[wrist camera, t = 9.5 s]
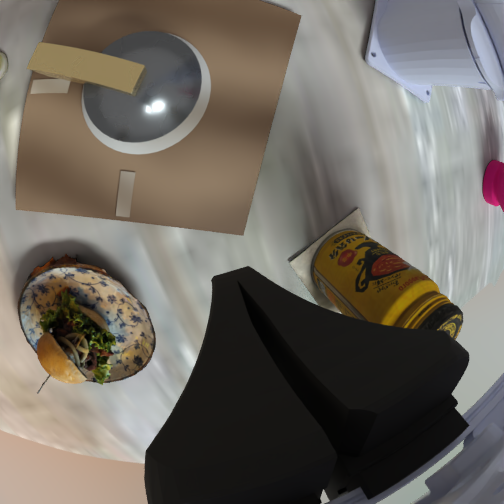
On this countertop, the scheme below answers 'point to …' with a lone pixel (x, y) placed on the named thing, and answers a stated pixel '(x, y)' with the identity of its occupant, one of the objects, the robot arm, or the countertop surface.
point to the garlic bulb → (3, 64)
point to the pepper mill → (494, 184)
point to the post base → (174, 143)
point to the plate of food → (84, 323)
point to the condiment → (372, 281)
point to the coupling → (129, 82)
